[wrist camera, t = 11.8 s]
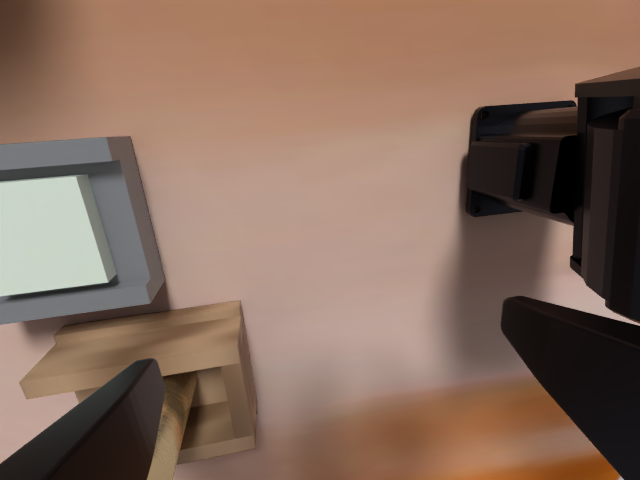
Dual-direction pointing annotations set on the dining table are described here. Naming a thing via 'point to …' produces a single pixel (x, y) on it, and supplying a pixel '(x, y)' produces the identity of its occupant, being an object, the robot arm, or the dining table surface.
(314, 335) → the dining table surface
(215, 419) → the wooden open box
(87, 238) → the checker pad
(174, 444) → the cell bronze
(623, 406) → the robot arm
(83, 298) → the base
